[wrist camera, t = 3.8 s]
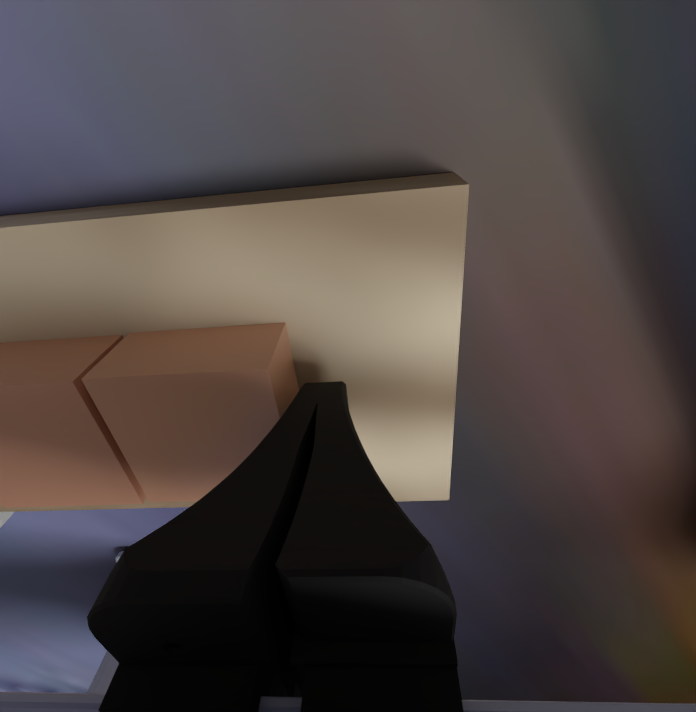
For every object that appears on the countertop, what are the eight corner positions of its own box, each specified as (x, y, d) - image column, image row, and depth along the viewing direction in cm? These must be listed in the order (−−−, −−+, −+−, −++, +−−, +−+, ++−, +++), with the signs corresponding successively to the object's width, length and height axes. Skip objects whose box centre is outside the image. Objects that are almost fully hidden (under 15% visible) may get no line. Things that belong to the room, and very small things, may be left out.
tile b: (174, 448, 15) (143, 503, 13) (52, 452, 16) (3, 507, 13) (121, 334, 12) (72, 381, 10) (-23, 344, 13) (-99, 391, 11)
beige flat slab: (441, 462, 18) (448, 500, 16) (29, 476, 20) (-2, 511, 18) (453, 172, 11) (469, 184, 10) (-159, 231, 13) (-238, 250, 11)
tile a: (309, 442, 15) (299, 498, 13) (180, 446, 15) (149, 502, 13) (285, 322, 12) (268, 369, 10) (129, 332, 12) (81, 379, 10)
